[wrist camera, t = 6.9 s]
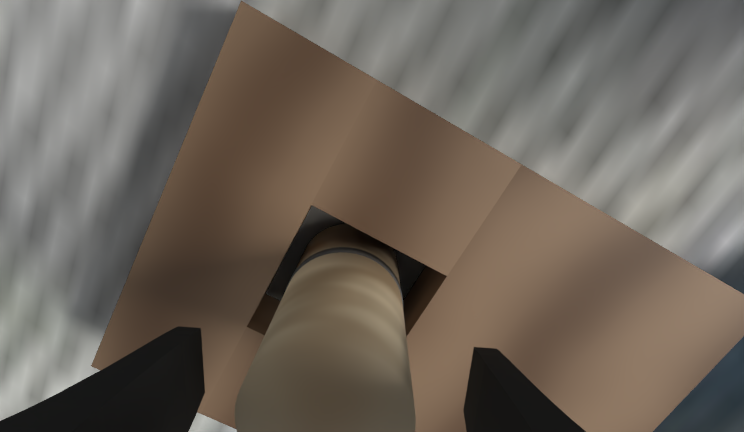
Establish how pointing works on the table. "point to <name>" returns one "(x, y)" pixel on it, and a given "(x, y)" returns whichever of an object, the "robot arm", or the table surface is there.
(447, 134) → the walnut board
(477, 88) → the table surface
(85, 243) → the table surface
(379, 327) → the beech peg
